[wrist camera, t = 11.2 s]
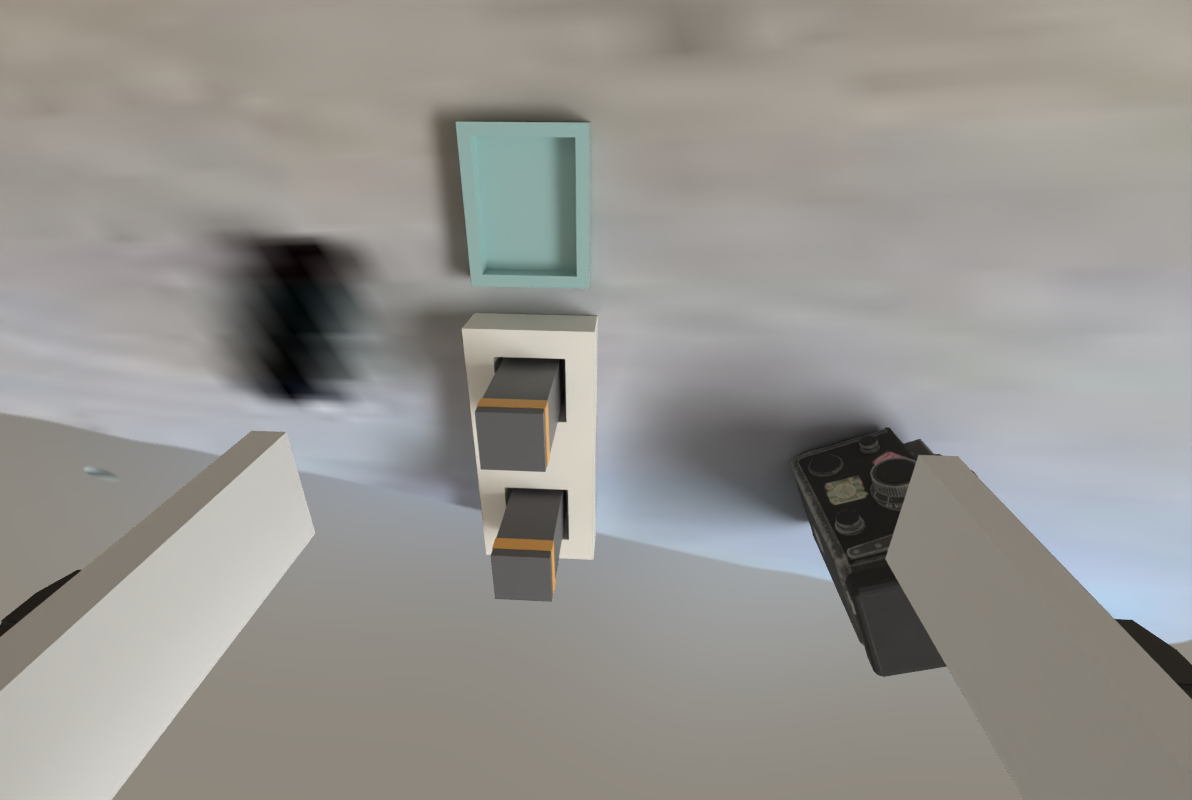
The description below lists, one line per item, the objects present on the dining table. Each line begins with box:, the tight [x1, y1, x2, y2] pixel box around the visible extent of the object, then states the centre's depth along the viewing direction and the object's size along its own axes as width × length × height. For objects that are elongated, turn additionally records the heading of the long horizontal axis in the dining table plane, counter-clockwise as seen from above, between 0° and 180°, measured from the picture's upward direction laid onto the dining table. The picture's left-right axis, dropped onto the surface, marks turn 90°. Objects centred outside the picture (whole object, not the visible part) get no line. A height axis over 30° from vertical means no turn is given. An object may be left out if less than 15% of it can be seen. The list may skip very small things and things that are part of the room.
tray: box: [456, 122, 591, 289], centre depth 36 cm, size 10×8×2 cm
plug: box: [475, 357, 564, 472], centre depth 37 cm, size 4×4×10 cm
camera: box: [791, 428, 978, 677], centre depth 38 cm, size 10×10×15 cm
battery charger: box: [462, 313, 597, 602], centre depth 40 cm, size 20×9×10 cm, turn 0°
